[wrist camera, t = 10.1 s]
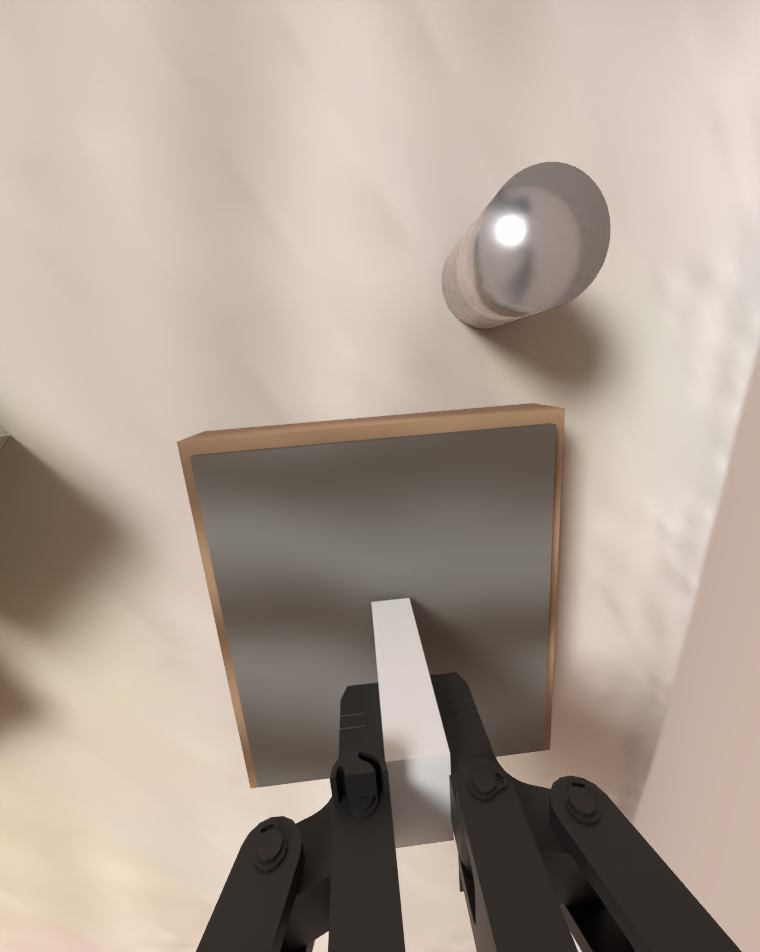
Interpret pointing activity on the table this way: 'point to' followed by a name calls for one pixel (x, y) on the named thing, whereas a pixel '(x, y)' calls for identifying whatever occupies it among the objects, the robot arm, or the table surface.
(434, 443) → the grey brown flat block
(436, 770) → the robot arm
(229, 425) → the table surface
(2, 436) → the housing
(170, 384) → the table surface
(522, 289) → the steel cup
